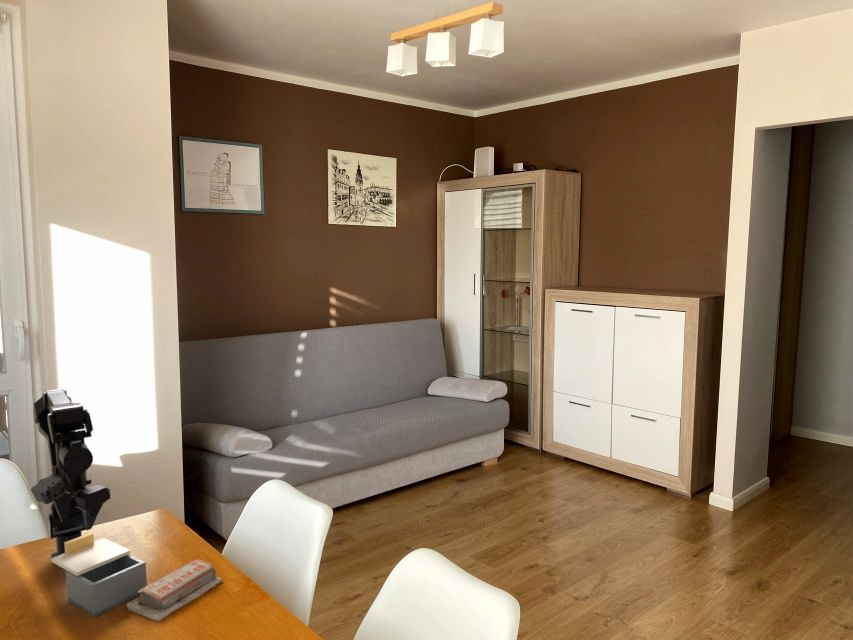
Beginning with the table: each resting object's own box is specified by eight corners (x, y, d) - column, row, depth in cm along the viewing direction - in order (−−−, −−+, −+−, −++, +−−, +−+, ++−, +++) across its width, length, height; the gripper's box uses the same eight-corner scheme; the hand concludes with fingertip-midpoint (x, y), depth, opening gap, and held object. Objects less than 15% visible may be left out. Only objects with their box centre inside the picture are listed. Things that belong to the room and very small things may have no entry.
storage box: (67, 601, 143) (65, 570, 142) (120, 577, 153) (118, 549, 152) (94, 617, 137) (92, 585, 136) (147, 591, 147) (145, 562, 146)
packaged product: (191, 553, 155) (222, 563, 150) (192, 573, 156) (223, 583, 151) (124, 590, 139) (156, 601, 135) (126, 611, 140) (158, 624, 135)
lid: (51, 561, 146) (50, 547, 145) (104, 541, 156) (103, 527, 155) (77, 576, 140) (75, 561, 139) (130, 553, 149) (129, 539, 149)
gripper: (10, 464, 147) (17, 530, 149) (62, 479, 138) (67, 549, 140) (59, 449, 156) (64, 511, 158) (110, 462, 147) (114, 528, 150)
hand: (76, 525), depth 151 cm, fingers open, 9 cm apart
